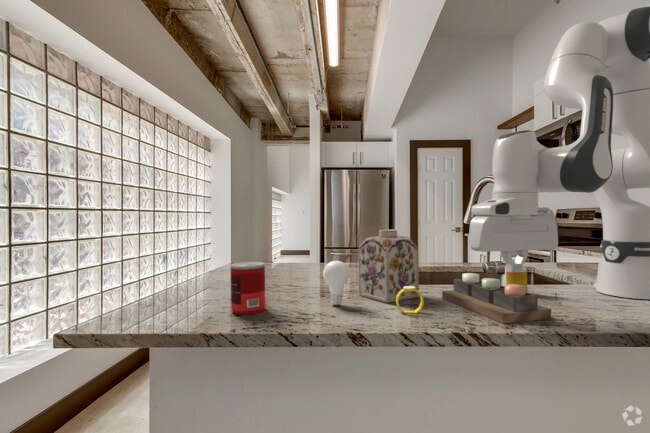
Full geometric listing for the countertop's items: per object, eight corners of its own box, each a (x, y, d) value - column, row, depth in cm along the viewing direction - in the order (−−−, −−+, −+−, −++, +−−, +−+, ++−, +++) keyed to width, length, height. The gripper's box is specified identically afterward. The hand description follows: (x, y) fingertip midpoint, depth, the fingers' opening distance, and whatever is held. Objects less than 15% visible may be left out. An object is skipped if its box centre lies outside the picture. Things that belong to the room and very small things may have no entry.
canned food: (271, 307, 91) (270, 262, 91) (254, 316, 84) (253, 267, 83) (243, 305, 94) (242, 261, 93) (224, 313, 86) (223, 265, 86)
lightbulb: (353, 303, 94) (352, 259, 93) (343, 310, 88) (343, 263, 88) (329, 301, 96) (329, 258, 96) (319, 307, 91) (318, 261, 90)
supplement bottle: (530, 296, 99) (530, 259, 99) (508, 295, 100) (508, 259, 100) (523, 292, 104) (523, 257, 104) (502, 291, 105) (502, 256, 105)
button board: (482, 295, 101) (481, 277, 100) (551, 318, 79) (551, 294, 79) (442, 298, 97) (442, 279, 97) (503, 323, 76) (503, 299, 76)
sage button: (492, 290, 91) (492, 277, 91) (504, 293, 87) (504, 280, 87) (478, 291, 90) (478, 278, 90) (489, 294, 86) (489, 281, 86)
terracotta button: (515, 297, 84) (515, 283, 83) (529, 301, 80) (529, 287, 80) (500, 298, 82) (500, 284, 82) (514, 302, 79) (514, 288, 79)
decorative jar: (420, 297, 99) (419, 229, 99) (387, 304, 93) (387, 231, 93) (388, 289, 109) (387, 227, 109) (357, 295, 103) (356, 229, 102)
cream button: (472, 284, 98) (472, 272, 98) (482, 287, 94) (482, 275, 94) (459, 285, 97) (459, 273, 97) (468, 288, 93) (468, 276, 93)
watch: (398, 315, 84) (396, 289, 84) (396, 312, 87) (394, 286, 86) (425, 313, 84) (423, 287, 84) (422, 310, 86) (420, 284, 86)
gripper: (542, 207, 86) (541, 267, 86) (464, 207, 81) (464, 271, 81) (566, 207, 80) (565, 271, 80) (484, 206, 75) (484, 276, 75)
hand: (514, 271), depth 81 cm, fingers closed
